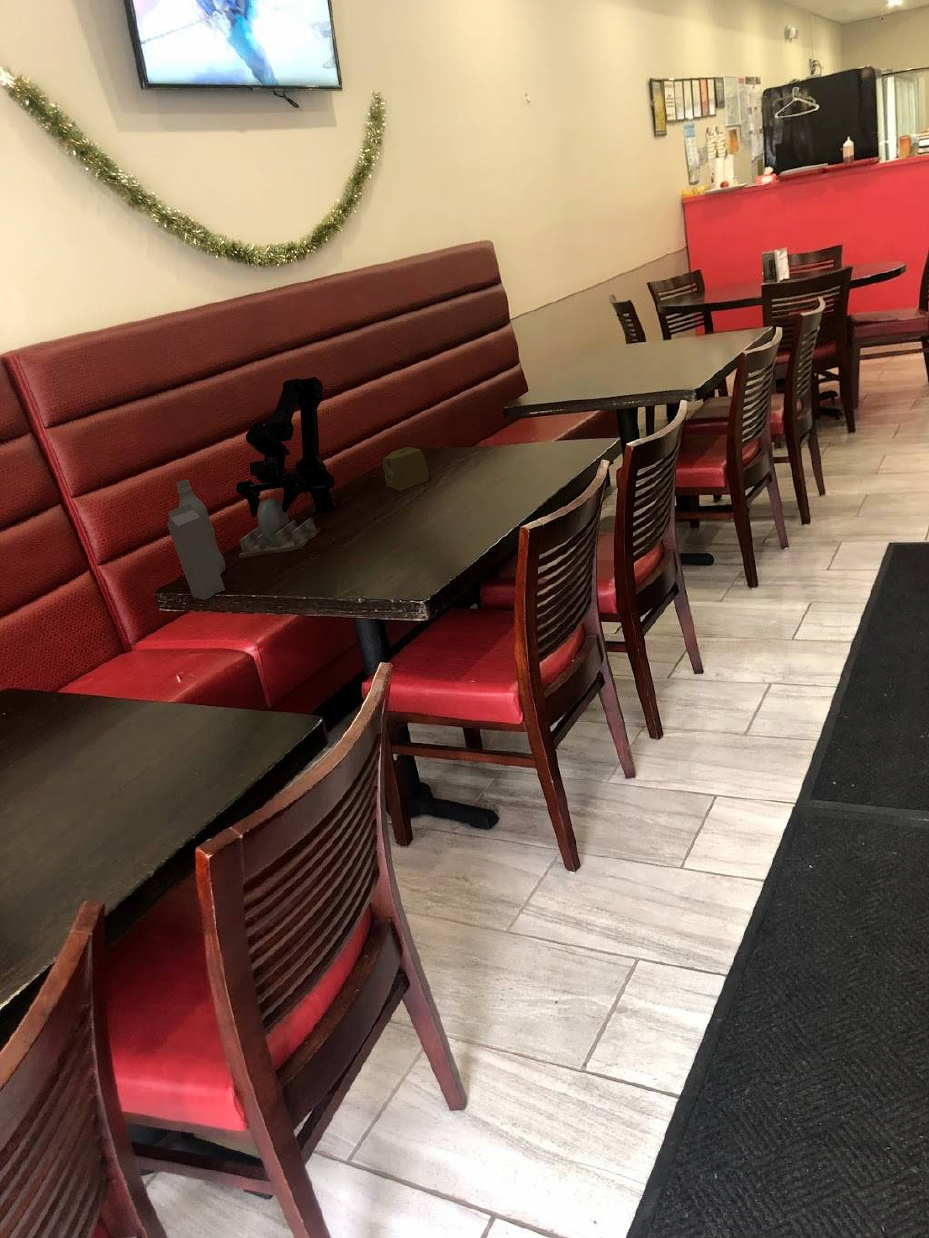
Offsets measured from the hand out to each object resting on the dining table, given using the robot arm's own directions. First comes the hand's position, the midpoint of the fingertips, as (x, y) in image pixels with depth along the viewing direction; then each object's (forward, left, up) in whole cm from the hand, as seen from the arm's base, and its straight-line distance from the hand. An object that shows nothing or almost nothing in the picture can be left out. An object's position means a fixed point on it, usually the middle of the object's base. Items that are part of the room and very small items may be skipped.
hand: (268, 514), depth 262 cm
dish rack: (-1, 0, -9) cm, 9 cm away
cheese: (-38, +33, -9) cm, 52 cm away
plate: (-1, 0, -8) cm, 8 cm away
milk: (+30, -12, -9) cm, 33 cm away
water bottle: (+14, -15, -9) cm, 22 cm away
